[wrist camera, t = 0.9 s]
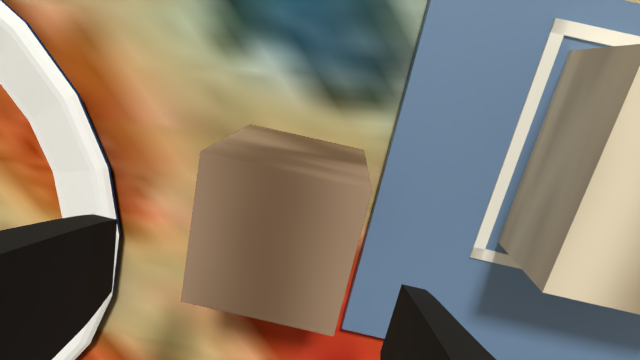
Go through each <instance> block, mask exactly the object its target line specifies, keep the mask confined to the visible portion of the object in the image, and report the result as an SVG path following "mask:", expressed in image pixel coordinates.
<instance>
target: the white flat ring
mask: <svg viewBox="0 0 640 360" xmlns="http://www.w3.org/2000/svg"><path fill="white" fill-rule="evenodd" d="M0 84H1V85H2V86H3V88H4V89H5V90H6V92H7V93H8V94H9V96H10V97H11V98H12V99H13V101H14V102H15V103H16V105H17V106H18V107H19V109H20V110H21V111H22V113H23V114H24V115H25V117H26V118H27V119H28V120H29V122H30V124H31V126H32V128H33V131H34V133H35V135H36V137H37V139H38V141H39V143H40V146H41V148H42V150H43V152H44V154H45V156H46V158H47V161H48V163H49V165H50V167H51V169H52V171H53V174H54V179H55V184H56V189H57V194H58V199H59V204H60V209H61V214H62V218H67V217H73V216H80V215H90V214H95V215H99V216H103V217H108V218H112V219H117V230H116V244H115V258H114V272H113V286H112V292H111V293H110V295H109V296H108V297H107V299H106V300H105V301H104V303H103V304H102V305H101V307H100V308H99V309H98V311H97V312H96V313H95V314H94V316H93V317H92V318H91V319H90V321H89V322H88V323H87V324H86V326H85V327H84V328H83V329H82V330H81V331H80V332H79V333H78V334H77V335H76V336H75V337H74V338H73V339H72V340H71V341H70V342H69V343H68V344H67V345H66V346H65V347H64V348H63V349H62V350H61V351H60V352H59V353H58V354H57V355H56V356H55V357H54V358H53V359H52V360H75V359H76V358H77V357H78V356H79V355H80V354H81V353H82V352H83V351H84V350H85V349H86V347H87V346H88V345H89V344H90V343H91V342H92V340H93V338H94V336H95V334H96V331H97V329H98V327H99V325H100V323H101V321H102V318H103V316H104V314H105V312H106V310H107V308H108V305H109V303H110V301H111V299H112V297H113V295H114V289H115V280H116V272H117V263H118V255H119V246H120V238H121V232H120V226H119V220H118V213H117V207H116V201H115V195H114V189H113V182H112V176H111V170H110V166H109V163H108V161H107V158H106V156H105V154H104V151H103V149H102V147H101V144H100V142H99V140H98V137H97V135H96V133H95V130H94V128H93V126H92V123H91V121H90V119H89V116H88V114H87V112H86V109H85V107H84V104H83V102H82V100H81V97H80V95H79V93H78V92H77V91H76V89H75V88H74V86H73V85H72V84H71V82H70V81H69V79H68V78H67V77H66V75H65V74H64V72H63V71H62V70H61V68H60V67H59V65H58V64H57V63H56V61H55V60H54V59H53V57H52V56H51V54H50V53H49V52H48V50H47V49H46V47H45V46H44V45H43V43H42V42H41V40H40V39H39V38H38V36H37V35H36V33H35V32H34V31H33V29H32V28H31V26H30V25H29V24H28V23H27V22H26V21H25V20H24V19H23V18H22V17H21V16H19V15H18V14H17V13H16V12H15V11H14V10H13V9H12V8H11V7H10V6H8V5H7V4H6V3H5V2H4V1H3V0H0Z"/></svg>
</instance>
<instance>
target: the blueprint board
mask: <svg viewBox="0 0 640 360" xmlns="http://www.w3.org/2000/svg"><path fill="white" fill-rule="evenodd" d="M633 44H640V4H638V3H634V2H629V1H625V0H428V4H427V8H426V11H425V15H424V19H423V22H422V26H421V30H420V33H419V37H418V41H417V45H416V48H415V52H414V56H413V59H412V63H411V67H410V71H409V74H408V78H407V82H406V85H405V89H404V93H403V97H402V100H401V104H400V108H399V111H398V115H397V119H396V122H395V126H394V130H393V134H392V137H391V141H390V145H389V148H388V152H387V156H386V160H385V163H384V167H383V171H382V174H381V178H380V182H379V186H378V189H377V193H376V197H375V200H374V204H373V208H372V211H371V215H370V219H369V223H368V226H367V230H366V234H365V237H364V241H363V245H362V249H361V252H360V256H359V260H358V263H357V267H356V271H355V275H354V278H353V282H352V286H351V289H350V293H349V297H348V300H347V304H346V308H345V312H344V315H343V319H342V329H344V330H348V331H353V332H357V333H361V334H366V335H370V336H375V337H379V338H383V339H385V336H386V333H387V330H388V327H389V323H390V320H391V317H392V314H393V311H394V307H395V304H396V301H397V298H398V294H399V291H400V288H401V285H402V284H403V285H408V286H412V287H417V288H421V289H425V290H427V291H428V292H429V293H431V294H432V295H433V296H434V297H435V298H436V299H437V300H438V301H439V302H440V303H441V304H442V305H443V306H444V307H445V308H446V309H447V310H448V311H449V312H450V313H451V314H452V316H453V317H454V318H455V319H456V320H457V321H458V322H459V323H460V324H461V325H462V326H463V327H464V328H465V329H466V330H467V331H468V332H469V333H470V334H471V335H472V336H473V337H474V338H475V339H476V340H477V341H478V342H479V343H480V344H481V345H482V346H483V347H484V348H485V349H486V350H487V351H488V352H489V353H490V354H491V355H492V356H493V357H494V358H495V359H496V360H640V315H639V314H635V313H630V312H626V311H622V310H617V309H613V308H608V307H604V306H600V305H595V304H591V303H587V302H582V301H578V300H573V299H569V298H565V297H560V296H556V295H551V294H547V293H543V292H542V291H541V290H540V289H539V288H538V287H537V286H536V285H535V283H534V282H533V281H532V280H531V279H530V278H529V277H528V276H527V274H526V273H525V272H524V271H523V270H522V269H521V268H520V266H519V265H518V264H517V263H516V262H515V261H514V260H513V258H512V257H511V256H510V255H509V254H508V253H507V252H506V251H505V249H504V248H503V247H502V246H501V245H500V244H499V243H498V240H499V237H500V234H501V232H502V229H503V226H504V224H505V221H506V219H507V216H508V213H509V211H510V208H511V205H512V203H513V200H514V197H515V195H516V192H517V189H518V187H519V184H520V181H521V179H522V176H523V173H524V171H525V168H526V165H527V163H528V160H529V157H530V155H531V152H532V150H533V147H534V144H535V142H536V139H537V136H538V134H539V131H540V128H541V126H542V123H543V120H544V118H545V115H546V112H547V110H548V107H549V104H550V102H551V99H552V96H553V94H554V91H555V89H556V86H557V83H558V81H559V78H560V75H561V73H562V70H563V67H564V65H565V62H566V59H567V57H568V54H569V51H570V50H580V49H590V48H601V47H612V46H623V45H633Z"/></svg>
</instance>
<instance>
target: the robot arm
mask: <svg viewBox="0 0 640 360" xmlns="http://www.w3.org/2000/svg"><path fill="white" fill-rule="evenodd" d="M116 230H117V219H112V218H108V217H103V216H99V215H95V214H90V215H80V216H73V217H67V218H61V219H56V220H51V221H46V222H41V223H36V224H31V225H26V226H21V227H16V228H11V229H6V230H1V231H0V360H52V359H53V358H54V357H55V356H56V355H57V354H58V353H59V352H60V351H61V350H62V349H63V348H64V347H65V346H66V345H67V344H68V343H69V342H70V341H71V340H72V339H73V338H74V337H75V336H76V335H77V334H78V333H79V332H80V331H81V330H82V329H83V328H84V327H85V326H86V324H87V323H88V322H89V321H90V319H91V318H92V317H93V316H94V314H95V313H96V312H97V311H98V309H99V308H100V307H101V305H102V304H103V303H104V301H105V300H106V299H107V297H108V296H109V295H110V293H111V292H112V286H113V272H114V258H115V244H116ZM381 360H496V359H495V358H494V357H493V356H492V355H491V354H490V353H489V352H488V351H487V350H486V349H485V348H484V347H483V346H482V345H481V344H480V343H479V342H478V341H477V340H476V339H475V338H474V337H473V336H472V335H471V334H470V333H469V332H468V331H467V330H466V329H465V328H464V327H463V326H462V325H461V324H460V323H459V322H458V321H457V320H456V319H455V318H454V317H453V316H452V314H451V313H450V312H449V311H448V310H447V309H446V308H445V307H444V306H443V305H442V304H441V303H440V302H439V301H438V300H437V299H436V298H435V297H434V296H433V295H432V294H431V293H429V292H428V291H427V290H425V289H421V288H417V287H412V286H408V285H403V284H402V285H401V288H400V291H399V294H398V298H397V301H396V304H395V307H394V311H393V314H392V317H391V320H390V323H389V327H388V330H387V333H386V336H385V339H384V343H383V346H382V349H381Z"/></svg>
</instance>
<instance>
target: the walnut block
mask: <svg viewBox="0 0 640 360" xmlns="http://www.w3.org/2000/svg"><path fill="white" fill-rule="evenodd" d="M371 193H372V187H371V182H370V177H369V173H368V168H367V163H366V158H365V153H364V150H362V149H358V148H353V147H349V146H344V145H340V144H336V143H331V142H327V141H322V140H318V139H313V138H309V137H305V136H300V135H296V134H291V133H287V132H282V131H278V130H273V129H269V128H265V127H260V126H256V125H251V124H250V125H249V126H247V127H245V128H243V129H241V130H239V131H237V132H236V133H234V134H232V135H230V136H228V137H226V138H225V139H223V140H221V141H219V142H217V143H215V144H213V145H212V146H210V147H208V148H206V149H204V150H202V151H201V152H200V159H199V166H198V174H197V182H196V189H195V197H194V205H193V212H192V220H191V228H190V235H189V243H188V251H187V258H186V266H185V274H184V281H183V289H182V297H181V302H185V303H190V304H194V305H199V306H203V307H207V308H212V309H216V310H220V311H225V312H229V313H233V314H238V315H242V316H246V317H251V318H255V319H260V320H264V321H268V322H273V323H277V324H281V325H286V326H290V327H294V328H299V329H303V330H307V331H312V332H316V333H321V334H325V335H329V336H334V332H335V329H336V325H337V321H338V317H339V314H340V310H341V306H342V302H343V299H344V295H345V291H346V287H347V283H348V280H349V276H350V272H351V268H352V265H353V261H354V257H355V253H356V250H357V246H358V242H359V238H360V234H361V231H362V227H363V223H364V219H365V216H366V212H367V208H368V204H369V201H370V197H371Z"/></svg>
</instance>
